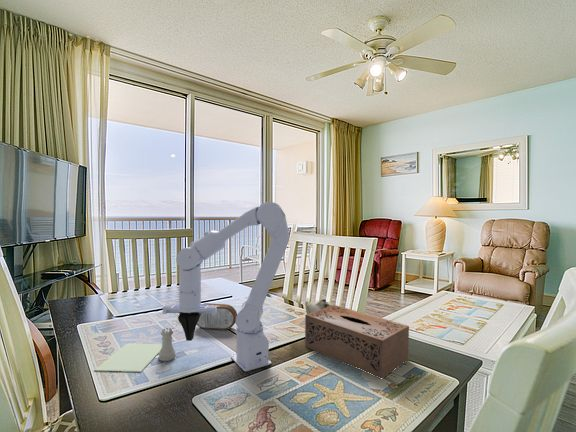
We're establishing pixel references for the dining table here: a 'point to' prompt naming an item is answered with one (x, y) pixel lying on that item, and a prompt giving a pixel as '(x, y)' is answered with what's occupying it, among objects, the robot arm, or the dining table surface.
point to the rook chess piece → (167, 346)
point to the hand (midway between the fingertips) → (189, 339)
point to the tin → (218, 318)
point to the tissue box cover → (357, 339)
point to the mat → (131, 358)
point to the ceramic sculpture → (317, 306)
